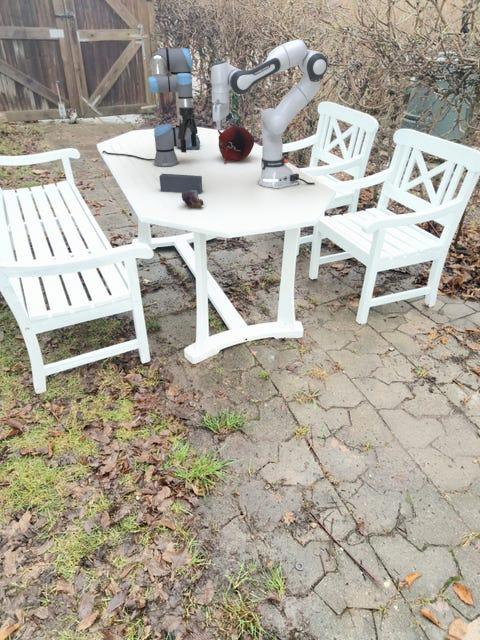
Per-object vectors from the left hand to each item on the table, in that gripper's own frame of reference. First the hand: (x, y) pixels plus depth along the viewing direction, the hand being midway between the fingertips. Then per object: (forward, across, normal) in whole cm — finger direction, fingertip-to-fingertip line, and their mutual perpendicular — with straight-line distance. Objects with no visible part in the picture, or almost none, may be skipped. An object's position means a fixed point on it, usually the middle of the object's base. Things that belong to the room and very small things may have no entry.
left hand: (189, 149), depth 247 cm
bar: (+20, -11, +1) cm, 23 cm away
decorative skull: (+19, +60, -6) cm, 63 cm away
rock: (+20, -31, -14) cm, 40 cm away
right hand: (-12, -1, -20) cm, 23 cm away
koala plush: (+19, +79, +38) cm, 89 cm away
